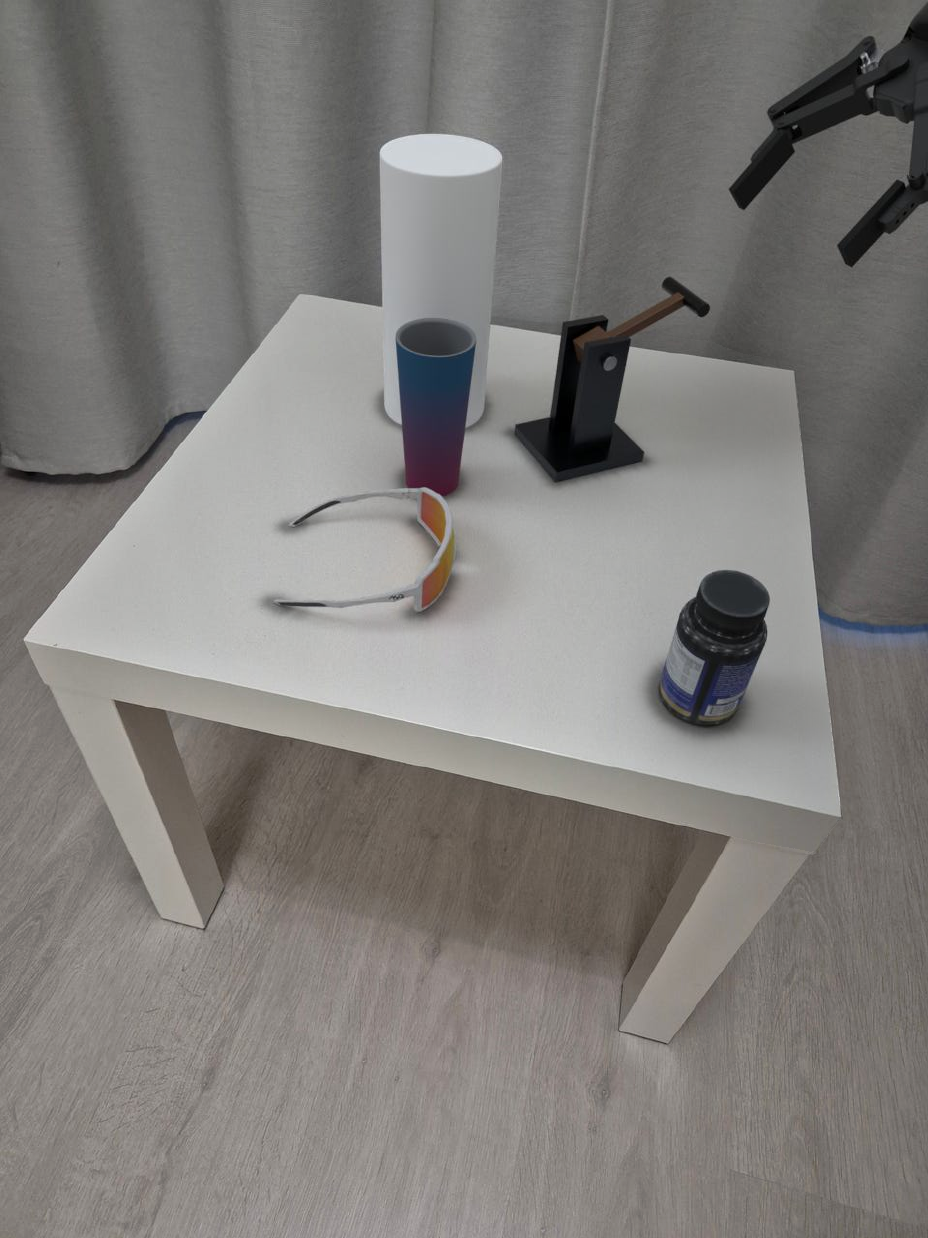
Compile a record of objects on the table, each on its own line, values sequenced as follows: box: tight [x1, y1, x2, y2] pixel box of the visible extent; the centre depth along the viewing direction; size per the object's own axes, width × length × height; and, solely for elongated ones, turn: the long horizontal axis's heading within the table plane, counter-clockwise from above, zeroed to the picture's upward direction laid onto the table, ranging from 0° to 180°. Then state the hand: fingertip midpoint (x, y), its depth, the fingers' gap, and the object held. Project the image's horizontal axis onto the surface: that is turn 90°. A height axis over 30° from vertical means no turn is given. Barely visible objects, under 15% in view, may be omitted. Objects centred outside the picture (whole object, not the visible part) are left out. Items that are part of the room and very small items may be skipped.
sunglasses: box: [273, 487, 458, 613], centre depth 74 cm, size 14×15×5 cm
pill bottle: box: [658, 569, 771, 726], centre depth 63 cm, size 6×6×11 cm
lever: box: [573, 276, 711, 363], centre depth 82 cm, size 12×6×2 cm, turn 115°
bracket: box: [513, 314, 645, 483], centre depth 85 cm, size 10×9×13 cm
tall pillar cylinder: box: [379, 133, 503, 429], centre depth 85 cm, size 11×11×25 cm
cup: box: [395, 318, 476, 497], centre depth 79 cm, size 7×7×15 cm
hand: (787, 226), depth 78 cm, fingers open, 13 cm apart
